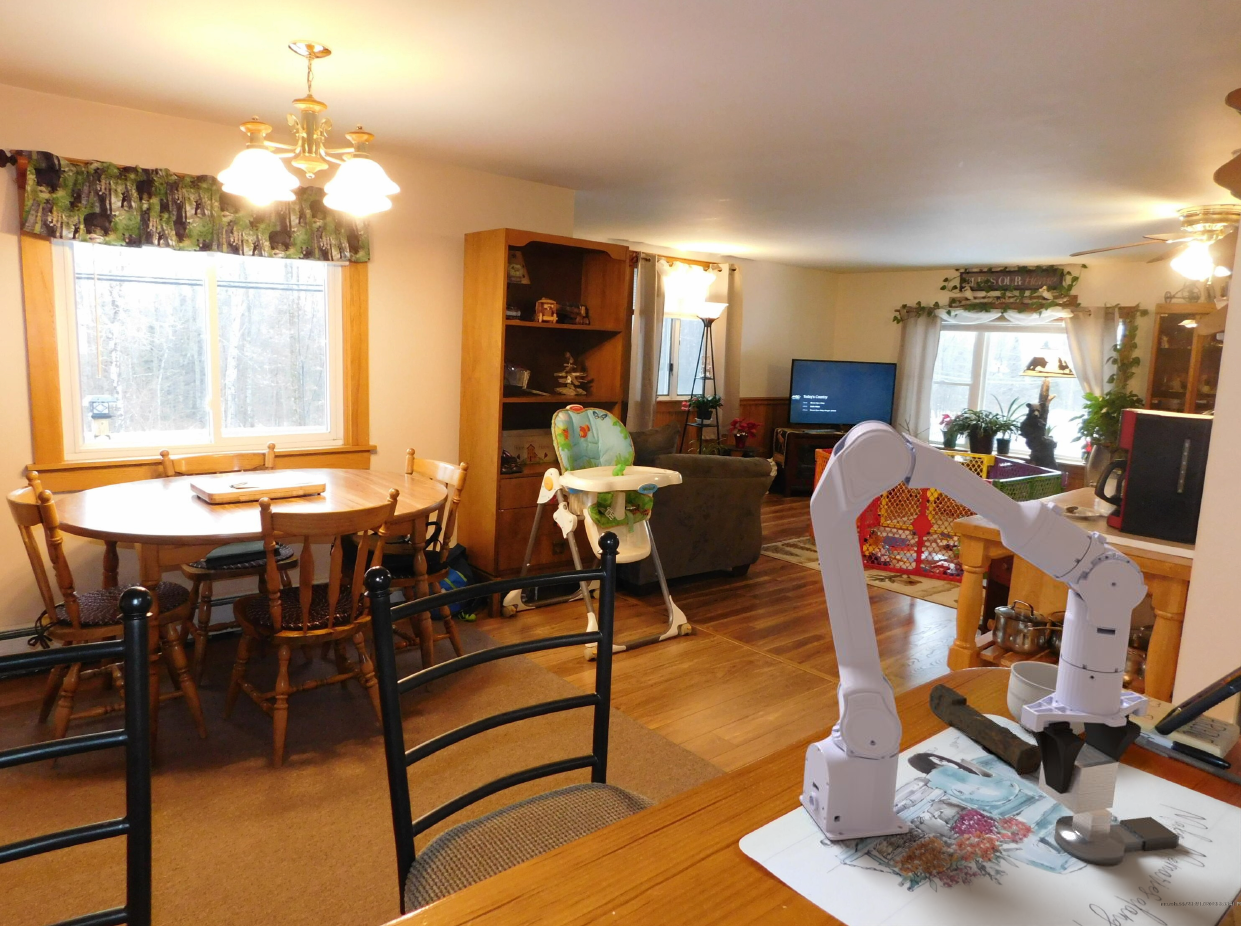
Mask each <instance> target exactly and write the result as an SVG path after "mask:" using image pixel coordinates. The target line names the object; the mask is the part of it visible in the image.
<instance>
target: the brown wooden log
mask: <svg viewBox="0 0 1241 926" xmlns="http://www.w3.org/2000/svg"><path fill="white" fill-rule="evenodd" d="M967 702H968V698H967V697H966V696H964V695H962V694H960V693H959V692H958V691H956V690H953V688H951V687H949V686H946V685H945V684H941V683H939V684H937V685H935V686H933V688H932V690H931V691H930V693H929V700H928V705H929V708H930V710H931V711H932V712H933V713H934V715H936V716H937V717H938V718H939V719H940V720H941V721H942V722H943V723H944V724H946V725H947V726H949V727H957V728H958V729H959V730H961V731H963V732H964V733H966V734H967V735H968V736H969V737H970V738H973V739H974V740H976V741H977V742H979V743H980V744H981V745H983V746H984V747H986V749H988V750H989V751H991V752H992V753H993V754H996V755H997V756H998V757H1000V758H1001V759H1002V760H1004V761H1005V762H1006V763H1008V764H1010V765H1012V766H1013V767H1014V770H1015V772H1016V774H1017V775H1018V776H1024V775H1033V774H1036V772H1038V771H1039V769H1041V761H1042V759H1041V755H1040V751H1039V748H1038V745H1036V744H1033V743H1030V742H1028V741H1026V740H1024V739H1022V738H1021V737H1020V736H1018V735H1017V734H1015V733H1013V731H1011V730H1010V729H1009V727H1006V726H1002V725H1000V724H999V723H997V722H995V720H992V719H991V718H989V717H988V716H986V715H984V714H982V713H981V712H980V711H978V710H977V709H975V708H974V707H972V706H971V705H970V704H968V703H967Z"/></svg>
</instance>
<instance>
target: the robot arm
mask: <svg viewBox="0 0 1241 926" xmlns="http://www.w3.org/2000/svg"><path fill="white" fill-rule="evenodd" d="M901 433H902V435H903V437H904V438H903V437H902V436H901V435H900V434H899V433H898V431H897V430H896V429H895V428H893V427H892V425H890V424H888V423H886V422H885V421H884V422H883V421H880V420H865V421H861V422H859V423H858V424H856V425H855V426H853V427H852V428H851V429H850V430H849V431H848V432H846V434H845V435H844V436H843V437H842V438H840V440H839V441H838V442H837V443H836V444H835V445H834V447H833V449H832V452H831V455H830V457H829V458H828V459H829V460H828V462H827V464H826V466H825V469H824V470H823V473H822V474H821V477H820V479H819V481H818V483H817V485H816V487H815V490H814V491H813V493H812V496H811V499H810V503H809V505H810V507H809V508H810V518H811V523H812V529H813V535H814V539H815V541H814V542H815V547H816V551H817V557H818V562H819V568H820V571H821V578H822V585H823V589H824V595H825V601H826V606H827V610H828V616H829V621H830V622H829V623H830V627H831V632H832V633H831V634H832V638H833V639H832V640H833V644H834V649H835V654H836V660H837V666H838V671H839V672H838V673H839V679H840V680H839V683H838V686H837V692H836V694H837V696H836V697H837V701H838V707H839V709H838V710H839V719H838V721H837V722H836V724H835V725H833V727H832V729H831V734H830V735H829V736H828V737H826V738H824V739H823V740H820V741H817V742H813V743H811V744H809V745H808V747H807V749H806V752H805V762H804V775H803V786H802V788H803V789H802V794H801V795H800V796H799V801H800V803H801V804H802V805H803V807H804V808H805V809H806V810H807V812H808V814H809V815H810V816H811V817H812V819H813V820H814V821H815V822H816V824H817V826H818V827H819V828H820V829H821V831H822V832H823V834H824V835H825V836H826V838H828V840H830V841H841V840H842V841H843V840H849V839H858V838H859V839H860V838H868V837H878V836H886V835H896V834H906V833H909V831H910V827H909V825H908V824H907V823H906V822H905V821H904V820H903V819H902V818H901V817H900V816H899V815H898V814H897V812H896V811H895V799H896V790H897V779H898V767H899V755H900V748H901V747H900V745H901V744H900V742H901V740H902V735H903V727H902V726H903V725H902V723H901V720H900V717H899V715H898V712H897V706H896V701H895V698H896V697H895V691H894V688H893V686H892V683H891V682H890V681H889V679H888V678H887V677H886V676H885V674H884V673H883V670H882V664H881V661H880V653H879V648H878V643H877V642H878V641H877V638H876V637H877V636H876V631H875V624H874V620H873V614H872V608H871V602H870V595H869V591H868V586H867V579H866V573H865V569H864V565H863V564H864V563H863V558H862V553H861V546H860V541H859V535H858V530H857V529H858V528H857V525H856V524H857V523H856V521H857V518H859V517H860V515H861V514H862V513H863V512H864V510H866V509H867V507H868V506H869V505H870V504H871V503H872V502H873V501H874V499H876V498H878V497H880V496H881V495H883V494H885V493H886V492H888V491H889V492H890V490H892V489H894V488H895V487H897V486H898V485H899V484H901V483H902V482H904V484H905V486H906V488H907V489H934V490H935V489H936V490H937V491H939V492H941V493H942V494H944V495H946V496H947V497H949V498H950V499H952V500H954V501H955V502H957V503H959V504H960V505H962V506H963V507H966V508H967V509H969V510H970V511H972V512H974V513H975V514H977V515H978V516H981V517H982V518H983V519H985V520H987V521H989V522H990V523H991V524H994V526H997V527H998V528H999V533H1000V539H1001V543H1002V545H1003V546H1004V547H1005V548H1007V549H1009V550H1010V551H1012V552H1013V553H1014V554H1016V555H1018V556H1019V557H1020V558H1022V559H1024V560H1025V561H1027V562H1028V563H1030V564H1032V565H1033V566H1034V567H1036V568H1038V569H1039V570H1040V571H1042V572H1044V573H1045V574H1047V575H1049V576H1050V577H1051V578H1053V579H1054V580H1056V581H1058V582H1063V583H1064V584H1065V585H1067V587H1069V589H1068V594H1067V601H1066V609H1065V613H1064V619H1063V627H1062V635H1061V636H1062V637H1061V644H1060V652H1059V660H1058V666H1059V667H1058V675H1057V684H1056V692H1055V693H1053V694H1051V695H1049V696H1047V697H1045V698H1043V699H1041V700H1039V701H1037V702H1035V703H1033V704H1029V705H1024V706H1023V707H1022V716H1021V724H1023V725H1025V726H1026V727H1028V728H1030V729H1031V731H1032V732H1031V731H1030V732H1031V733H1032V735H1033V738H1034V740H1035V742H1036V744H1037V746H1038V748H1039V751H1040V755H1041V759H1042V764H1043V769H1044V776H1045V782H1046V785H1048V786H1049V787H1051V788H1052V789H1054V790H1055V791H1057V792H1058V793H1060V794H1064V793H1066V792H1067V789H1068V787H1069V784H1070V781H1071V776H1072V771H1073V766H1074V763H1075V761H1076V758H1077V756H1078V754H1079V752H1080V750H1081V748H1082V747H1083V746H1084V744H1085V743H1086V744H1088V745H1090V746H1091V747H1093V748H1095V749H1096V750H1098V751H1100V752H1102V753H1103V754H1105V755H1107V756H1109V757H1110V758H1112V759H1114V760H1116V761H1117V762H1119V763H1120V760H1121V758H1122V757H1123V755H1124V753H1125V752H1126V751H1127V750H1128V749H1129V748H1130V746H1131V745H1132V744H1133V743H1134V742H1135V741H1136V740H1137V739H1138V738H1139V737H1140V736H1141V731H1142V726H1140V725H1139V724H1138V723H1136V722H1134V721H1132V720H1130V716H1131V715H1134V716H1136V717H1138V718H1142V717H1147V713H1148V706H1149V698H1147V697H1145V696H1143V695H1141V694H1138V693H1137V692H1134V691H1132V690H1131V691H1130V690H1129V691H1123V683H1124V675H1125V669H1126V661H1127V653H1128V647H1129V639H1130V632H1131V620H1132V613H1133V610H1134V608H1136V607H1137V606H1138V605H1140V603H1141V602H1142V601H1143V599H1144V598H1145V597H1146V595H1147V593H1148V589H1149V586H1148V585H1146V584H1145V578H1144V577H1145V576H1144V574H1143V571H1141V568H1140V566H1139V564H1137V563H1136V562H1135V560H1133V559H1131V558H1130V557H1128V556H1127V555H1126V554H1124V553H1123V552H1121V551H1120V550H1119V549H1116V548H1115V547H1113V546H1112V545H1111V544H1110V543H1109V542H1108V541H1107V537H1105V536H1104V535H1103V534H1101V533H1100V532H1098V531H1093V532H1092V533H1091V532H1089V531H1088V530H1087V529H1085V528H1083V526H1080V525H1078V524H1077V523H1075V522H1074V521H1072V520H1071V519H1069V518H1068V517H1066V516H1064V514H1065V512H1066V510H1065V508H1063V507H1061V506H1060V505H1058V504H1057V503H1055V502H1053V501H1049V502H1048V504H1045V503H1044V502H1043V501H1041V500H1038V499H1032V500H1027V501H1017V500H1014V499H1012V498H1011V497H1010V496H1009V495H1007V494H1005V493H1004V492H1003V491H1001V490H1000V489H998V488H997V487H995V486H994V485H992V484H990V483H989V482H987V480H985V479H983V478H982V477H980V476H979V475H977V474H976V473H974V472H973V471H972V470H970V469H969V468H967V467H965V465H963V464H961V463H960V462H958V461H957V460H955V459H954V458H953V457H951V456H949V455H948V454H946V453H945V452H943V451H942V450H941V449H938V448H937V447H935V446H933V445H931V444H928V443H927V442H925V441H923V440H921V439H918V438H917V437H914V436H912V435H909V434H907V433H905V432H901ZM1076 722H1084V728H1085V731H1084V734H1085V738H1084V737H1082V736H1079V734H1078V735H1076V734H1074V733H1073V729H1072V728H1070V723H1076Z"/></svg>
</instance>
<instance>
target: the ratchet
mask: <svg viewBox="0 0 1241 926" xmlns="http://www.w3.org/2000/svg"><path fill="white" fill-rule="evenodd" d="M1112 817H1113V813H1112V812H1111V811H1110V810H1109V809H1108V808H1107V809H1101V810H1096V811H1091V812H1085V813H1080V814H1075V813H1073V815H1065V816H1064V815H1063V816H1061V817H1059V818H1058V819H1057V820H1056V822H1055V828H1054V834H1053V838H1054V842H1055V844H1056V845H1057V847H1059V848H1060V850H1062V851H1063V852H1065V853H1066V854H1067V855H1069V856H1071V857H1072V858H1074V859H1076V860H1078V861H1081V862H1083V863H1086V864H1088V865H1093V866H1098V867H1108V868H1109V867H1115V866H1119V865H1120V864H1121V863H1122V862H1123V860H1124V855H1125V853H1133V852H1141V851H1142V852H1153V851H1163V850H1169V849H1170V850H1171V849H1176V847H1179V842H1180V835H1178V834H1177V833H1175V832H1174V831H1172V830H1171V829H1169V828H1168V827H1167V826H1165V825H1163V823H1160V822H1159V821H1158V820H1156V819H1154V818H1152V816H1145V817H1137V818H1129V819H1120V820H1119V823H1118V824H1117V823H1115V824H1112Z"/></svg>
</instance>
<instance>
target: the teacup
mask: <svg viewBox="0 0 1241 926" xmlns="http://www.w3.org/2000/svg"><path fill="white" fill-rule="evenodd" d="M1058 667H1059V665H1055V664H1052V663H1048V662H1047V663H1046V662H1042V661H1041V662H1040V661H1032V660H1031V661H1028V660H1024V661H1023V660H1022V661H1017V662H1016V661H1015V662H1014V663H1012V664H1011V666H1010V674H1009V675H1010V676H1009V681H1008V689H1007V695H1006V701H1007V708H1008V710H1009V712H1010V713H1011V715H1012V716H1013V717H1014V718H1015V720H1016V721H1017V722H1018V724H1019V725H1020V726H1022V728H1024V729H1025V730H1028V731H1029V732H1031V733H1032V731H1031V729H1030V728H1028V727H1026V726H1025V725H1023V724H1021V716H1022V707H1023V706H1024V705H1029V704H1033V703H1035V702H1037V701H1039V700H1041V699H1043V698H1045V697H1047V696H1049V695H1051V694H1053V693H1055V692H1056V684H1057V675H1058ZM1070 728H1072V729H1073V733H1074V734H1076V735H1078V736H1079V735H1080V734H1082V733H1085V728H1084V722H1076V723H1070Z"/></svg>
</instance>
